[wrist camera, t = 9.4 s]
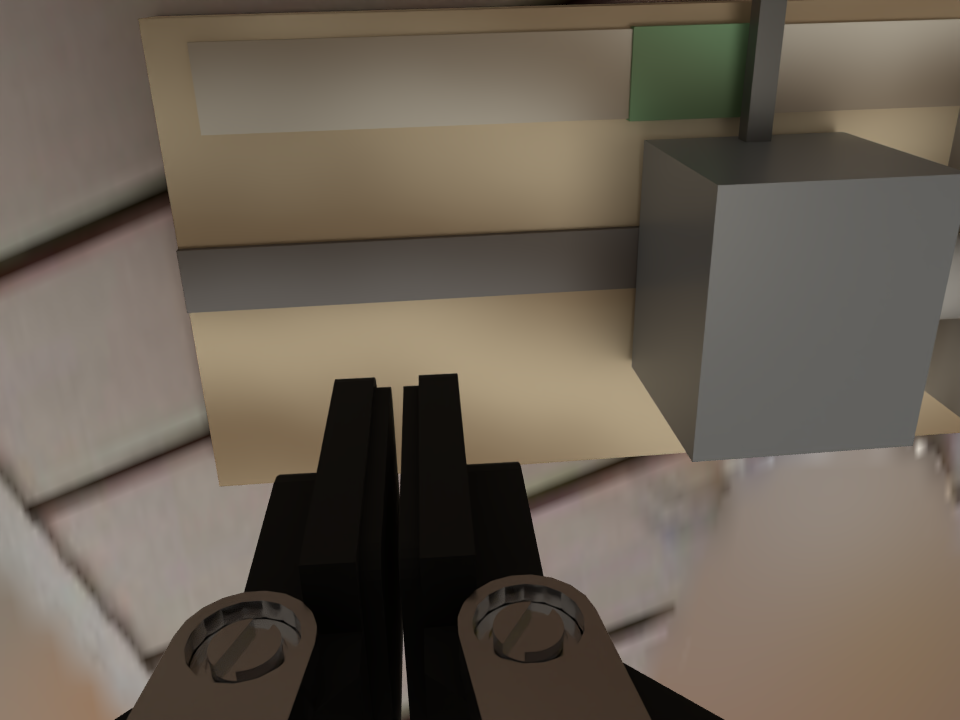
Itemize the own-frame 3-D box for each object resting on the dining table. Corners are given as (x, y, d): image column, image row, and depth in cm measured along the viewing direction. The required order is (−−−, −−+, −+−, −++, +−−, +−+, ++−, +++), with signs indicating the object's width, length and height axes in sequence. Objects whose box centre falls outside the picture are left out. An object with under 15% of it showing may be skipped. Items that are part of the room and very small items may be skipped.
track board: (155, 16, 20) (35, 34, 13) (1110, -10, 22) (1437, -6, 15) (228, 458, 25) (169, 639, 18) (1003, 404, 27) (1213, 548, 20)
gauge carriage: (652, -10, 19) (736, -7, 15) (947, -18, 20) (1116, -17, 15) (631, 366, 23) (692, 461, 18) (879, 350, 23) (997, 439, 19)
